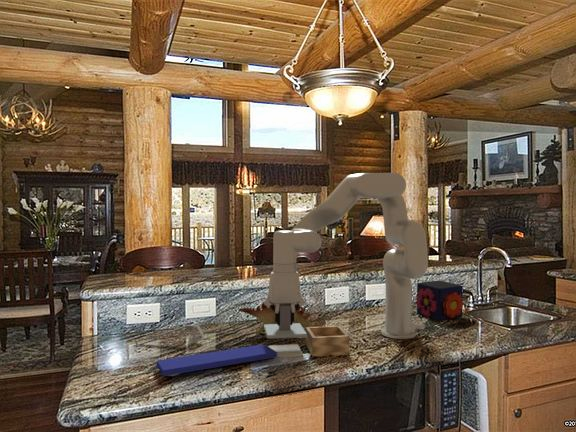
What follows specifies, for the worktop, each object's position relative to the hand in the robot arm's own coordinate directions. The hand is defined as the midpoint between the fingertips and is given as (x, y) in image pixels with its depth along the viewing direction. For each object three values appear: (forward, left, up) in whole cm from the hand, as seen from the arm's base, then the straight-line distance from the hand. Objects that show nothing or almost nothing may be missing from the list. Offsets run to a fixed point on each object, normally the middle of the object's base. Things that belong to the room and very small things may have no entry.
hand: (284, 323), depth 144 cm
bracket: (+38, -14, -10) cm, 42 cm away
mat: (0, 0, -9) cm, 9 cm away
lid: (0, 0, -3) cm, 3 cm away
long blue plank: (+21, +8, -9) cm, 25 cm away
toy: (-2, -18, -10) cm, 21 cm away
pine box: (-14, 0, -9) cm, 17 cm away
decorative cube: (-72, -35, -10) cm, 81 cm away
